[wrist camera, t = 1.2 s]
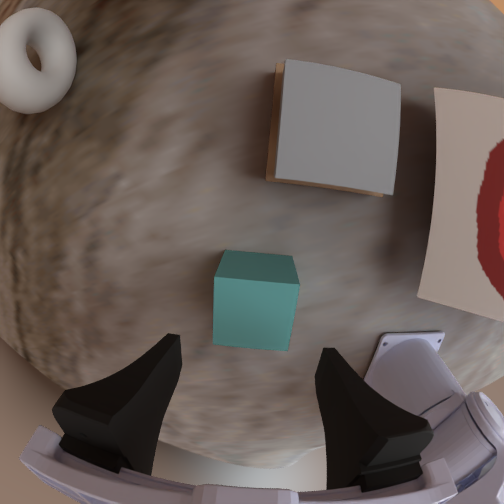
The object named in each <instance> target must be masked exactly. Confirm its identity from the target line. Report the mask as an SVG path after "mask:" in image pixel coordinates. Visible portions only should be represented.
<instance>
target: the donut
mask: <svg viewBox="0 0 504 504" xmlns="http://www.w3.org/2000/svg"><path fill="white" fill-rule="evenodd" d="M26 45H29V46H31V47H32V48H33V49H34V50H35V51H36V52H37V54H38V55H39V58H40V61H41V68H42V69H41V71H38V70H37V69H36V68H35V67H33V66H32V64H31V62H30V61H29V59H28V56H27V53H26ZM76 64H77V56H76V47H75V44H74V40H73V37H72V35H71V33H70V31H69V29H68V27H67V25H66V24H65V23H64V22H63V20H62V19H61V18H60V17H59V16H57V15H56V14H55V13H53V12H52V11H49V10H46V9H42V8H38V7H37V8H28V9H24V10H21V11H19V12H17V13H15V14H14V15H12V16H10V17H9V18H7V19H6V20H5V21H4V22H3V23H2V25H1V26H0V102H1V103H2V104H3V105H5V106H6V107H8V108H9V109H11V110H12V111H16V112H20V113H24V114H33V113H40V112H44V111H46V110H48V109H49V108H51V107H53V106H54V105H56V104H57V103H58V102H60V101H61V99H62V98H63V97H64V96H65V94H66V93H67V92H68V90H69V89H70V87H71V84H72V82H73V79H74V76H75V72H76Z"/></svg>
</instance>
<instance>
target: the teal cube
mask: <svg viewBox="0 0 504 504" xmlns="http://www.w3.org/2000/svg"><path fill="white" fill-rule="evenodd" d="M299 287H300V283H299V279H298V276H297V272H296V268H295V265H294V261H293V258H292V256H285V255H275V254H264V253H253V252H242V251H232V250H225V252H224V254H223V257H222V259H221V261H220V264H219V266H218V269H217V271H216V274H215V276H214V304H213V344H215V345H223V346H232V347H242V348H252V349H265V350H279V351H288V346H289V341H290V336H291V331H292V326H293V321H294V315H295V310H296V304H297V299H298V293H299Z"/></svg>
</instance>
